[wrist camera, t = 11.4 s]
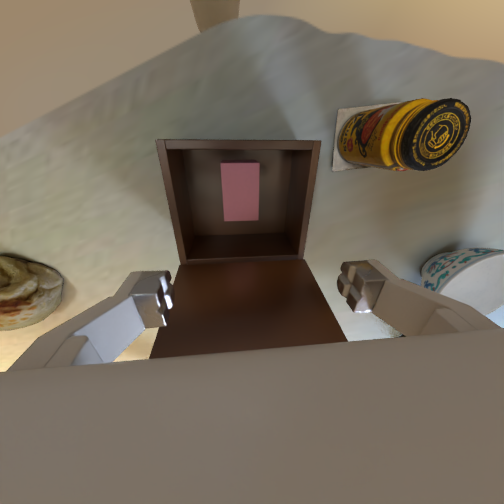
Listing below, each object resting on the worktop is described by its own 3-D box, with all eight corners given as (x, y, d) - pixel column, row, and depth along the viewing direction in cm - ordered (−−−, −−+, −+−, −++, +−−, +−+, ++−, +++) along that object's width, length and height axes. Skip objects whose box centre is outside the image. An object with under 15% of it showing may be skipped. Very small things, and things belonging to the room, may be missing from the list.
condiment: (337, 109, 25) (414, 88, 14) (402, 102, 25) (524, 76, 15) (331, 171, 28) (389, 190, 18) (388, 164, 29) (478, 178, 18)
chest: (175, 139, 25) (155, 139, 18) (297, 140, 26) (321, 140, 19) (191, 238, 31) (180, 265, 25) (287, 234, 33) (303, 259, 26)
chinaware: (476, 275, 42) (523, 300, 35) (405, 305, 44) (436, 335, 38) (478, 217, 35) (538, 235, 28) (394, 257, 37) (430, 283, 31)
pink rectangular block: (221, 160, 26) (220, 162, 23) (256, 159, 26) (259, 162, 23) (224, 212, 29) (224, 221, 26) (255, 211, 30) (258, 220, 26)
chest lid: (131, 411, 12) (151, 433, 15) (371, 385, 14) (352, 409, 16) (179, 264, 24) (185, 290, 27) (304, 259, 25) (299, 284, 28)
